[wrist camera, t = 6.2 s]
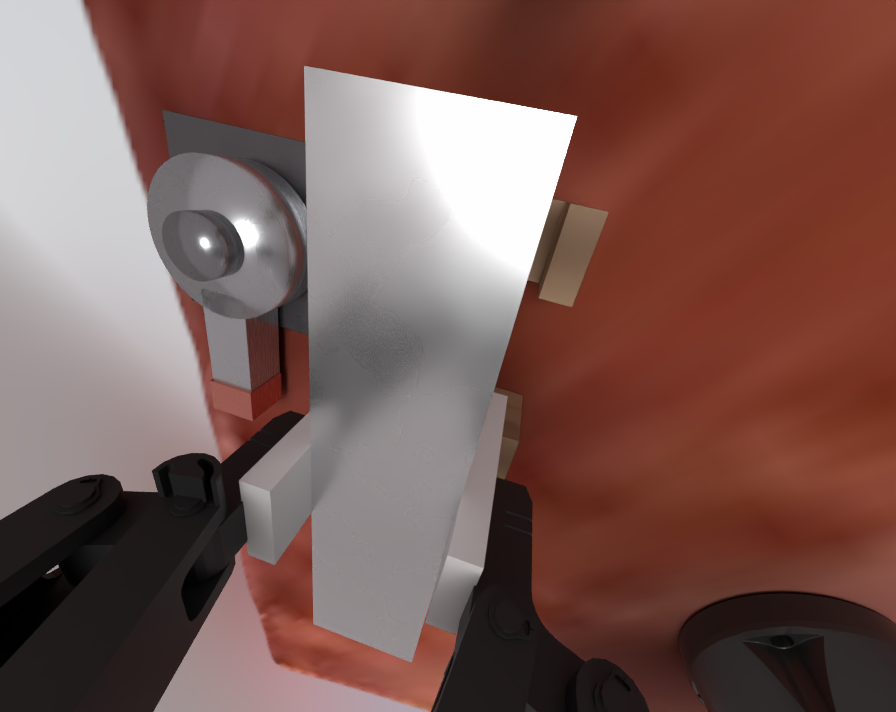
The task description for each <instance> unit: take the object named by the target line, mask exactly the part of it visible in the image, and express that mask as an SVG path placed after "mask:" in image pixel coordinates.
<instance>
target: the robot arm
mask: <svg viewBox="0 0 896 712" xmlns="http://www.w3.org/2000/svg"><path fill="white" fill-rule="evenodd" d="M507 398H508V396H505V395H501V394H498V393H495V392H493V395H492V398H491V402H490V405H489V408H488V412H487V415H486V418H485V422H484V425H483V428H482V431H481V435H480V438H479V441H478V445H477V448H476V451H475V455H474V458H473V461H472V464H471V468H470V471H469V474H468V478H467V481H466V484H465V488H464V491H463V494H462V497H461V501H460V504H459V507H458V510H457V513H456V516H455V519H454V522H453V526H452V529H451V532H450V535H449V538H448V541H447V544H446V547H445V550H444V554H443V557H442V560H441V564H440V568H439V572H438V575H437V579H436V583H435V587H434V591H433V595H432V599H431V603H430V607H429V610H428V614H427V618H426V622H425V623H427V624H429V625H432V626H434V627H437V628H439V629H442V630H445V631H447V632H450V633H452V634H455V635H456V632H457V630H458V633H457V638H456V644H455V649H454V652H453V655H452V657H451V659H450V661H449V664H448V666H447V668H446V671H445V673H444V678H443V681H442V683H441V686H440V689H439V691H438V694H437V697H436V699H435V702H434V705H433V708H432V710H431V712H649V709H648V707H647V704H646V701H645V699H644V697H643V695H642V694H641V692H640V691H639V689H638V688H637V686H636V684H635V683H634V681H633V680H632V679H631V678H630V677H629V676H628V675H627V674H626V673H625V672H624V671H623V670H622V669H621V668H620V667H618V666H616V665H615V664H613V663H611V662H609V661H607V660H606V659H595V658H592V659H591V660H589V661H587V662H584V661H583V660H582V659H581V658H579V657H578V656H577V655H575V654H574V653H573V652H572V651H570V650H569V649H568V648H566V647H565V646H564V645H563V644H561V643H560V642H559V641H558V640H557V639H555V638H554V637H553V636H552V635H551V634H550V633H549V632H548V630H547V629H546V628H545V626H544V625H543V624H542V623H541V621H540V619H539V617H538V615H537V613H536V611H535V608H534V604H533V601H532V592H531V578H532V537H531V535H532V501H531V498H530V496H529V493H528V491H527V488H526V486H523V485H519V484H516V483H513V482H510V481H507V480H504V479H501V478H498V477H496V476H497V469H498V462H499V455H500V448H501V441H502V434H503V426H504V419H505V412H506V405H507ZM152 473H153V476H154V480H155V483H156V487H157V490H158V492H132V491H123V489H122V486H121V483H120V481H118V480H117V479H116V478H115V477H113V476H108V475H103V474H99V475H88V476H84V477H80V478H77V479H74V480H70V481H68V482H66V483H64V484H62V485H60V486H58V487H56V488H54V489H52V490H51V491H49V492H47V493H45V494H44V495H42V496H41V497H39V498H37V499H35V500H33V501H32V502H30V503H28V504H27V505H25V506H23V507H22V508H20V509H18V510H16V511H15V512H13V513H12V514H10V515H8V516H6V517H5V518H3V519H1V520H0V712H153V711H154V709H155V708H156V706H157V704H158V702H159V701H160V699H161V697H162V695H163V694H164V692H165V690H166V688H167V687H168V685H169V683H170V681H171V680H172V678H173V676H174V674H175V672H176V671H177V669H178V667H179V665H180V664H181V662H182V660H183V658H184V657H185V655H186V653H187V651H188V650H189V648H190V646H191V644H192V643H193V640H194V639H195V637H196V636H197V634H198V632H199V630H200V629H201V627H202V625H203V623H204V622H205V620H206V618H207V616H208V614H209V613H210V611H211V609H212V607H213V605H214V604H215V602H216V600H217V599H218V597H219V595H220V593H221V592H222V590H223V588H224V586H225V585H226V583H227V581H228V579H229V578H230V576H231V574H232V572H233V569H234V566H235V554H237V552H238V551H239V550H240V549H241V548H242V546H243V545H244V544H245V543H246V542H247V550H248V555H250V556H253V557H255V558H258V559H260V560H263V561H266V562H268V563H271V564H273V565H275V564H276V563H277V561H278V560H279V558H280V557H281V555H282V554H283V553H284V551H285V550H286V548H287V547H288V545H289V544H290V543H291V541H292V540H293V538H294V537H295V535H296V534H297V533H298V531H299V530H300V528H301V527H302V525H303V524H304V523H305V521H306V520H307V518H308V517H309V515H310V514H311V513H312V505H311V445H310V412H309V413H308V414H307V415H306V416H305V415H302V414H299V413H296V412H293V411H289V412H286V413H284V414H282V415H280V416H277V417H275V418H273V419H272V420H271V421H270V422H269V423H267V424H266V425H265V426H264V427H263V428H262V429H261V431H260V432H259V431H258V432H257V433H256V434H255V435H254V436H252V437H251V438H250V440H249V441H247V442H245V443H244V444H243V445H242V446H241V447H240V448H239V449H237V450H236V451H235V452H234V453H233V454H232V455H230V456H229V457H228V458H227V459H226V460H225V461H224V462H222V463H221V464H220V462H219V461H218V460H217V459H216V458H215V457H214V456H211V455H208V454H205V453H191V454H186V455H181V456H177V457H174V458H172V459H170V460H167V461H165V462H163V463H162V464H160V465H159V466H158V467H156V468H155V469H154V470H152ZM56 565H59V568H58V569H56V570H54V571H52V572H51V573H48V574H46V573H47V572H48V571H49V570H51V569H52V568H54V567H55V566H56ZM679 651H680V654H681V657H682V660H683V663H684V667H685V670H686V673H687V676H688V679H689V682H690V684H691V686H692V688H693V690H694V691H695V693H696V694H697V696H698V697H699V699H700V700H701V702H702V703H703V704H704V705H705V706H706V708H707V710H708V712H896V624H895V623H893V622H892V621H890V620H888V619H887V618H885V617H883V616H881V615H879V614H877V613H875V612H873V611H871V610H869V609H866V608H863V607H861V606H858V605H855V604H852V603H848V602H844V601H841V600H836V599H832V598H826V597H820V596H813V595H803V594H762V595H753V596H746V597H741V598H736V599H732V600H728V601H725V602H722V603H719V604H716V605H714V606H711V607H709V608H707V609H705V610H703V611H701V612H700V613H698V614H697V615H695V616H694V617H693V618H692V619H690V620H689V621H688V623H687V624H686V625H685V626H684V628H683V629H682V631H681V634H680V637H679Z"/></svg>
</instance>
